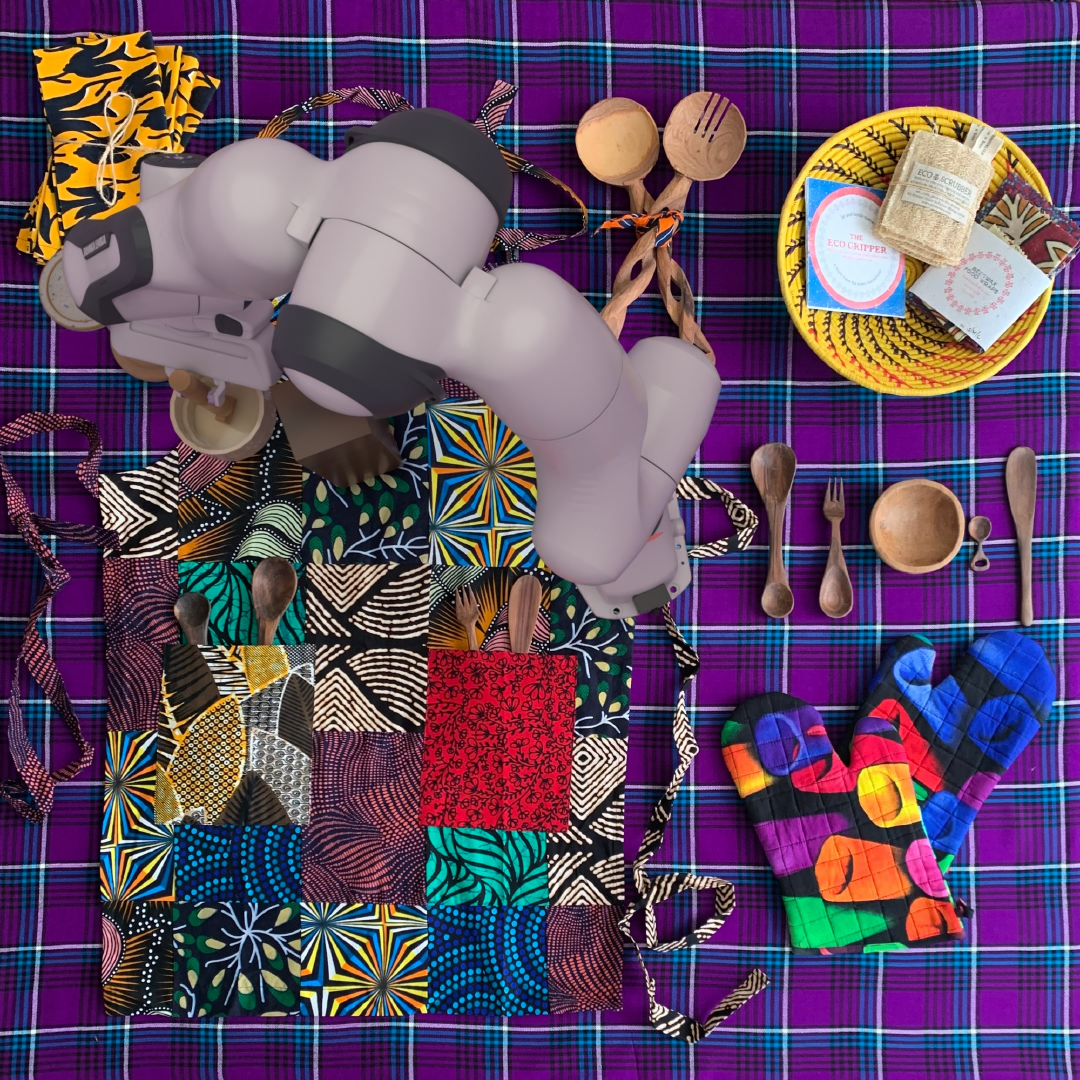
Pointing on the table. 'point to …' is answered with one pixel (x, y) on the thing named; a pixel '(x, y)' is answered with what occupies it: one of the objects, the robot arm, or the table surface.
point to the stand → (335, 439)
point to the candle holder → (84, 318)
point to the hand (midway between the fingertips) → (201, 399)
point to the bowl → (220, 439)
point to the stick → (201, 394)
